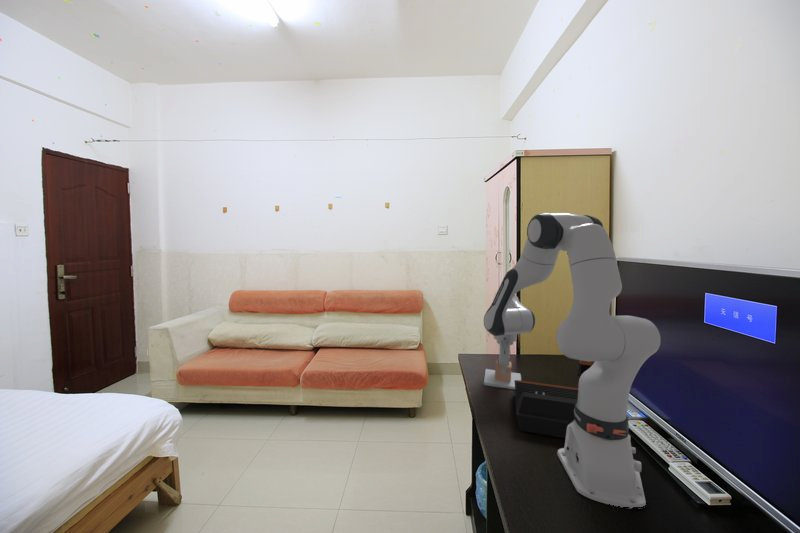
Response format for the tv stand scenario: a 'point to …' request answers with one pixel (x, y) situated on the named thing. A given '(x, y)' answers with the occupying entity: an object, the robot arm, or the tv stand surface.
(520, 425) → the video game console
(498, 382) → the keeper dock
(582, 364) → the battery
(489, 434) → the tv stand surface
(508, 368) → the open-ended wooden box
